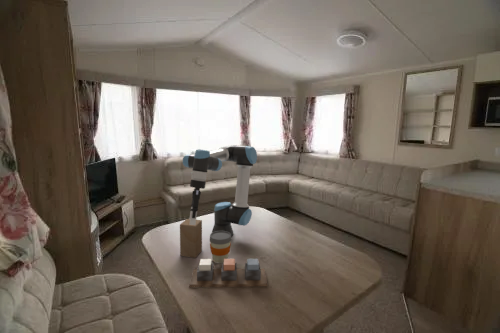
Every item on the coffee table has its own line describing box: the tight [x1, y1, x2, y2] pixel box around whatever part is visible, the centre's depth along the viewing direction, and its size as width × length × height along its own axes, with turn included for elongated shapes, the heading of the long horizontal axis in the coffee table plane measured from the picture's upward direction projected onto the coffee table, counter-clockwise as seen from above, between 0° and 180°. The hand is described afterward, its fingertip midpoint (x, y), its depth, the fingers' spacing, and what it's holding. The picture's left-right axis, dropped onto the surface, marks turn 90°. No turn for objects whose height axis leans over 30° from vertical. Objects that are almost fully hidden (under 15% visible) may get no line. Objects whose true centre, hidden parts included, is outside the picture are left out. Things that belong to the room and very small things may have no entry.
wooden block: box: [179, 218, 203, 259], centre depth 151 cm, size 10×10×20 cm
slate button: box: [246, 258, 260, 270], centre depth 128 cm, size 6×6×5 cm
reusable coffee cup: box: [209, 231, 232, 264], centre depth 146 cm, size 13×13×15 cm
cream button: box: [198, 258, 213, 271], centre depth 127 cm, size 6×6×5 cm
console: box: [189, 262, 268, 288], centre depth 128 cm, size 38×13×6 cm, turn 94°
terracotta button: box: [224, 258, 236, 271], centre depth 128 cm, size 6×6×5 cm
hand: (192, 222), depth 125 cm, fingers open, 13 cm apart
